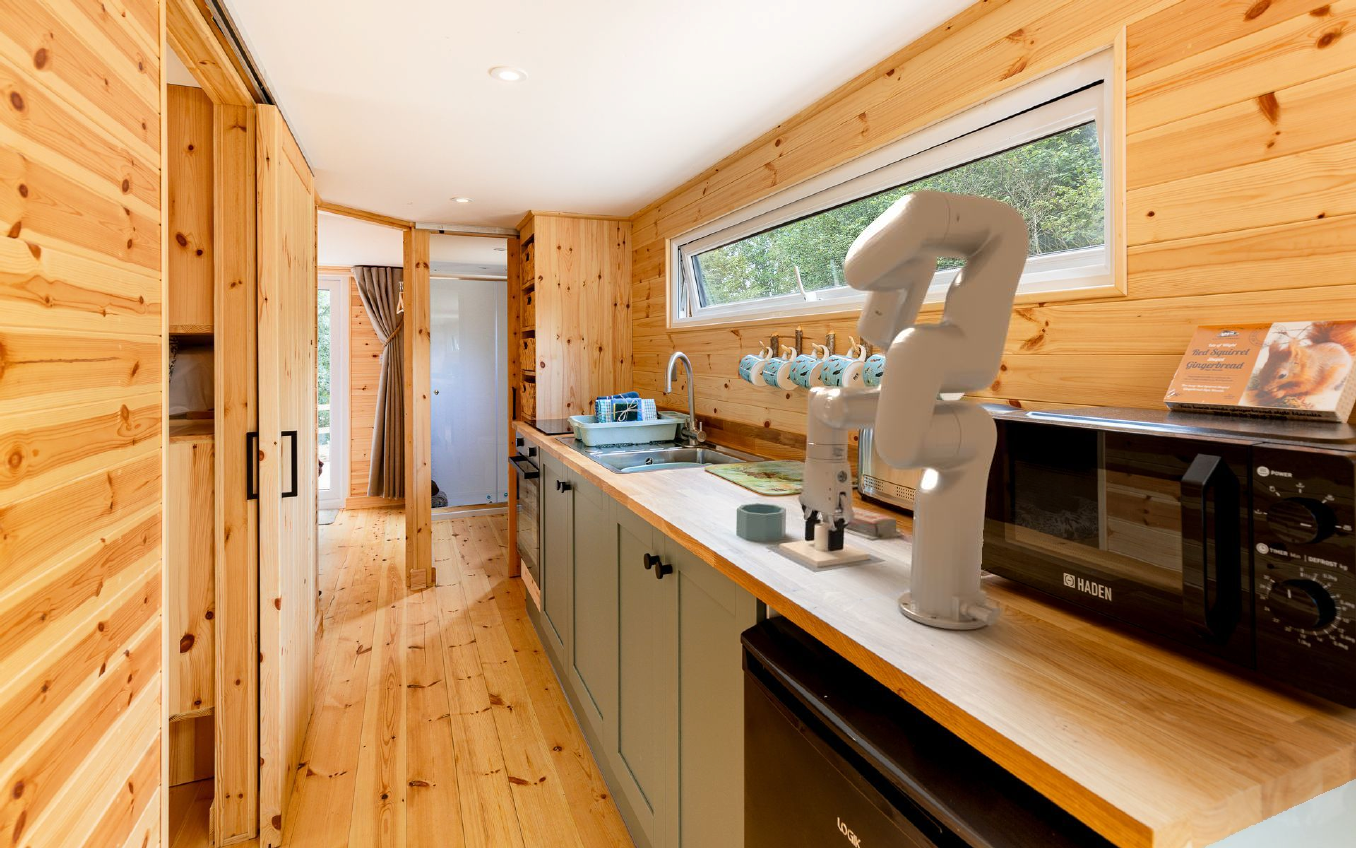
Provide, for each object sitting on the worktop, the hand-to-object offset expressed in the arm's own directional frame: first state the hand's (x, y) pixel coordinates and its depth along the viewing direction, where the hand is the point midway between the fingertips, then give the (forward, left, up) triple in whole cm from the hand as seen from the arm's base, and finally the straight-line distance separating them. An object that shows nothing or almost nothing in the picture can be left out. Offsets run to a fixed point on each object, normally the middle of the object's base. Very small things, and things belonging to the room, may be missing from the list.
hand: (823, 544), depth 123 cm
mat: (0, 0, -2) cm, 2 cm away
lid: (0, 0, -2) cm, 2 cm away
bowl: (+16, +4, -2) cm, 17 cm away
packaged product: (+13, -19, -3) cm, 23 cm away
